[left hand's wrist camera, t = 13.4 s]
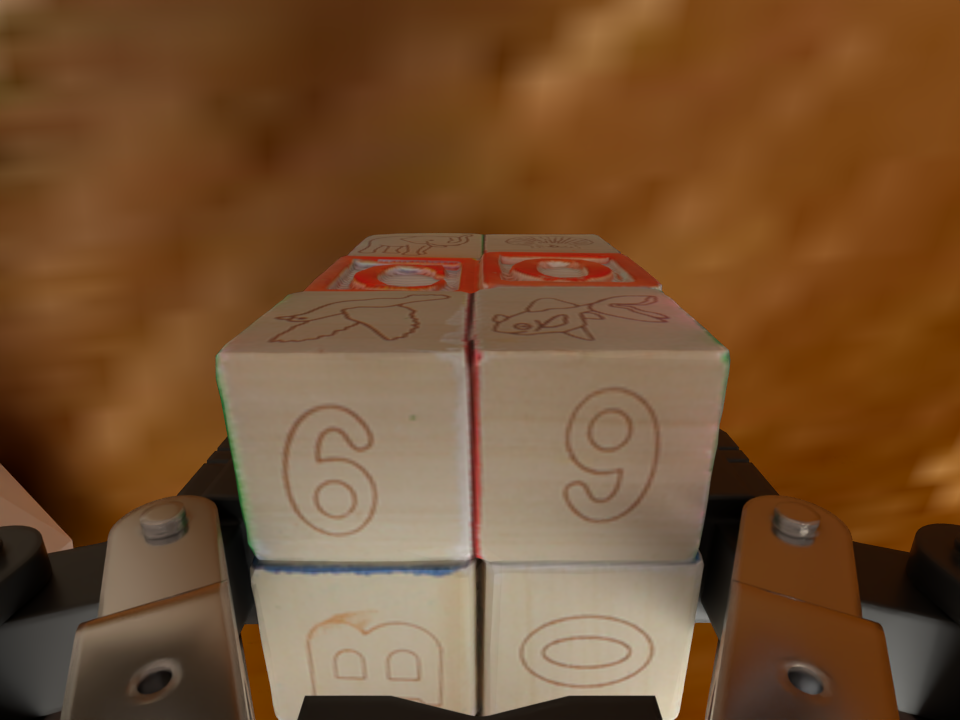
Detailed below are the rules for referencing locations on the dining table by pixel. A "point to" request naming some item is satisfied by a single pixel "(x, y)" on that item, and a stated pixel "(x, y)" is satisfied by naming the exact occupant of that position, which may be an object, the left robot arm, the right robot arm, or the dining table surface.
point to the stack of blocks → (475, 474)
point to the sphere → (29, 514)
